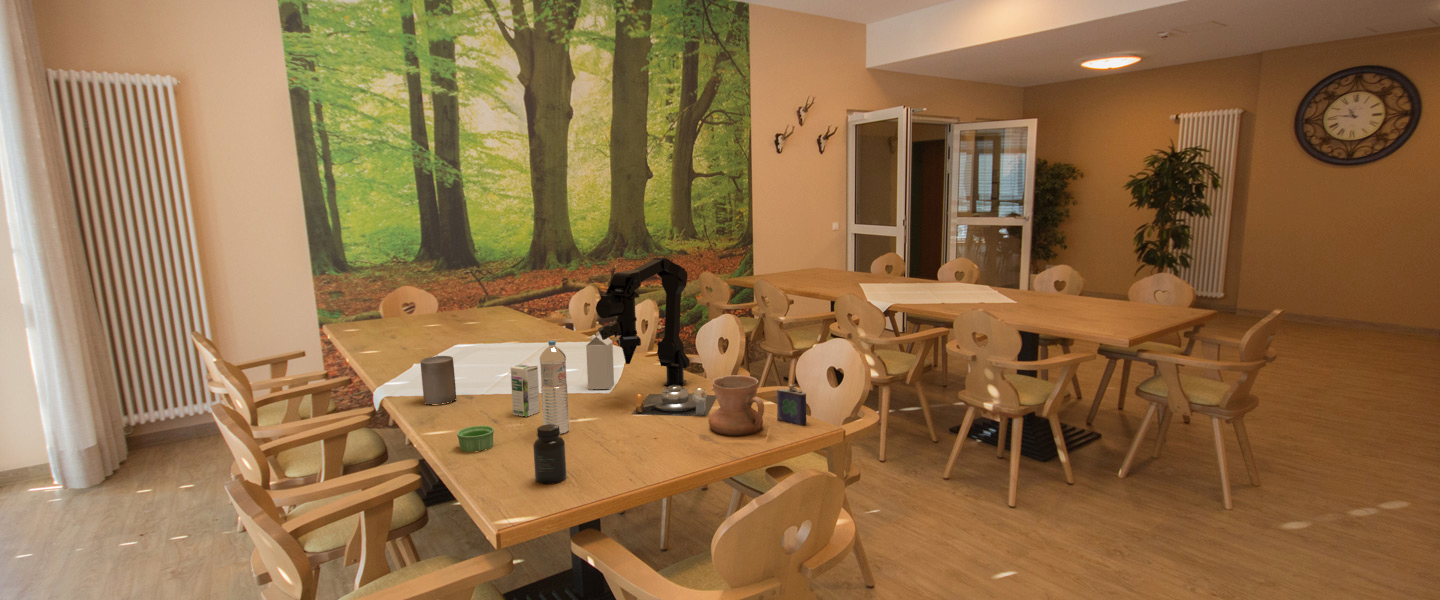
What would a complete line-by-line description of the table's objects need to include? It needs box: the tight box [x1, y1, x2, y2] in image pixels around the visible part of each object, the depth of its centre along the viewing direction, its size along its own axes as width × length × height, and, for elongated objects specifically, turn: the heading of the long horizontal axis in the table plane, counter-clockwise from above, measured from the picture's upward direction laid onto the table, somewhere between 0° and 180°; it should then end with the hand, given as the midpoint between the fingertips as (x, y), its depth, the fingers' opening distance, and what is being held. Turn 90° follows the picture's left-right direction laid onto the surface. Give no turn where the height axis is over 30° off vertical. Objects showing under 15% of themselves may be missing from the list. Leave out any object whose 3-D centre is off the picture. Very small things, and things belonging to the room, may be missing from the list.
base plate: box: [630, 393, 717, 417], centre depth 215 cm, size 22×22×1 cm
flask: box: [776, 384, 807, 427], centre depth 198 cm, size 9×3×11 cm, turn 50°
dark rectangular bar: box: [691, 387, 708, 416], centre depth 203 cm, size 3×4×8 cm
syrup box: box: [510, 363, 541, 418], centre depth 210 cm, size 6×6×14 cm
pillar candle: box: [419, 354, 457, 405], centre depth 225 cm, size 10×10×15 cm
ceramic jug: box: [708, 374, 765, 437], centre depth 190 cm, size 18×14×14 cm
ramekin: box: [456, 424, 495, 453], centre depth 183 cm, size 9×9×4 cm
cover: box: [661, 385, 689, 404], centre depth 214 cm, size 8×8×4 cm
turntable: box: [634, 392, 696, 412], centre depth 213 cm, size 16×22×5 cm
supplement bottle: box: [533, 424, 567, 485], centre depth 160 cm, size 7×7×12 cm
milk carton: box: [585, 331, 615, 390], centre depth 238 cm, size 7×7×19 cm
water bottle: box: [539, 340, 570, 435], centre depth 192 cm, size 7×7×25 cm
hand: (627, 363), depth 220 cm, fingers closed
